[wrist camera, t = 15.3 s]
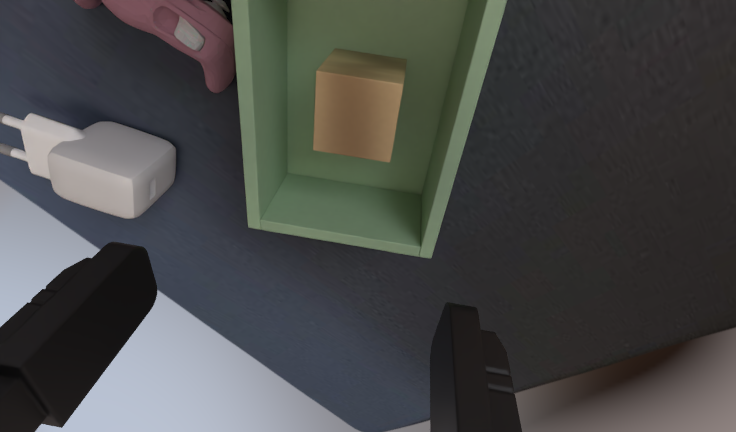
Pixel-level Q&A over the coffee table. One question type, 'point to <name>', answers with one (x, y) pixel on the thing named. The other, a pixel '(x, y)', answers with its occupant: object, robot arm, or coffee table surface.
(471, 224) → the coffee table surface
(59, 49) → the coffee table surface
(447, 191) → the bin
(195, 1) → the pink irregular tapered piece
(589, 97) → the coffee table surface
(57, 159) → the power adapter
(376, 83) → the block
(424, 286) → the coffee table surface
